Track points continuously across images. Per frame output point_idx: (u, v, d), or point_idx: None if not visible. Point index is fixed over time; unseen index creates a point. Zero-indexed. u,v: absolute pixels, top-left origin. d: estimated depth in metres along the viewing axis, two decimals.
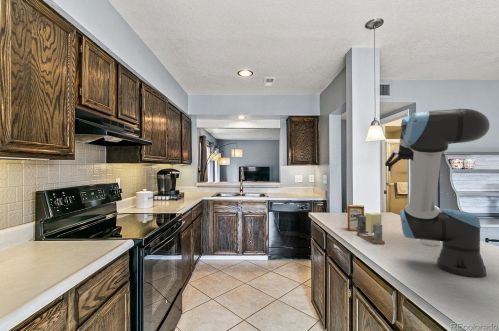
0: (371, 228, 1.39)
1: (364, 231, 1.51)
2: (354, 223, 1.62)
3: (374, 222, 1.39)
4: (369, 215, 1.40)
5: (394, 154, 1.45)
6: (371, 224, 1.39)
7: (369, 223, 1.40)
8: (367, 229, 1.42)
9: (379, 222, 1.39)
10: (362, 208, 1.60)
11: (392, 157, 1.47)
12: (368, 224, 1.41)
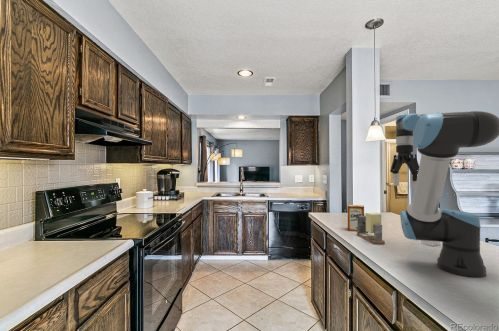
0: (371, 228, 1.39)
1: (364, 231, 1.51)
2: (354, 223, 1.62)
3: (374, 222, 1.39)
4: (369, 215, 1.40)
5: (394, 157, 1.38)
6: (371, 224, 1.39)
7: (369, 223, 1.40)
8: (367, 229, 1.42)
9: (379, 222, 1.39)
10: (362, 208, 1.60)
11: (393, 160, 1.39)
12: (368, 224, 1.41)
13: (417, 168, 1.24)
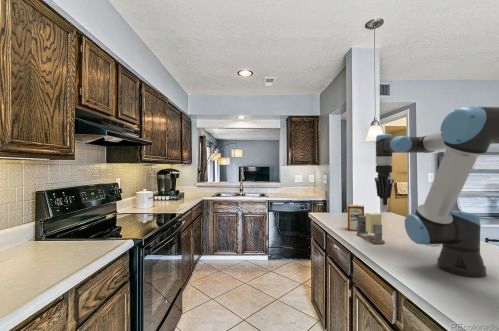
0: (371, 228, 1.39)
1: (364, 231, 1.51)
2: (354, 223, 1.62)
3: (374, 222, 1.39)
4: (369, 215, 1.40)
5: (375, 179, 1.37)
6: (371, 224, 1.39)
7: (369, 223, 1.40)
8: (367, 229, 1.42)
9: (379, 222, 1.39)
10: (362, 208, 1.60)
11: (376, 183, 1.36)
12: (368, 224, 1.41)
13: (388, 194, 1.28)
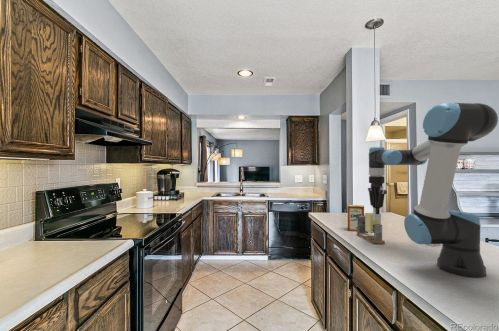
0: (371, 228, 1.39)
1: (364, 231, 1.51)
2: (354, 223, 1.62)
3: (373, 222, 1.39)
4: (369, 215, 1.40)
5: (369, 189, 1.43)
6: (371, 224, 1.39)
7: (369, 223, 1.40)
8: (367, 229, 1.42)
9: (378, 222, 1.39)
10: (362, 208, 1.60)
11: (369, 193, 1.43)
12: (368, 224, 1.41)
13: (380, 203, 1.34)
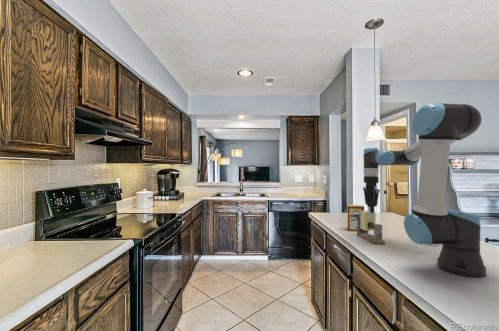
0: (365, 226, 1.44)
1: (364, 231, 1.51)
2: (354, 223, 1.62)
3: (368, 220, 1.44)
4: (363, 213, 1.45)
5: (364, 188, 1.48)
6: (366, 222, 1.44)
7: (363, 221, 1.45)
8: (362, 227, 1.47)
9: (373, 220, 1.44)
10: (362, 208, 1.60)
11: (364, 192, 1.48)
12: (363, 222, 1.46)
13: (375, 202, 1.40)
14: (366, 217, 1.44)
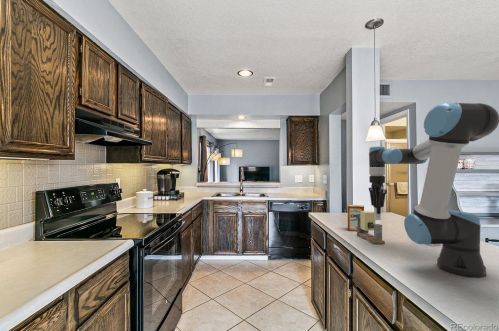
0: (365, 225, 1.44)
1: (364, 231, 1.51)
2: (354, 223, 1.62)
3: (368, 220, 1.44)
4: (363, 213, 1.45)
5: (369, 189, 1.43)
6: (366, 222, 1.44)
7: (363, 221, 1.45)
8: (362, 227, 1.47)
9: (373, 220, 1.45)
10: (362, 208, 1.60)
11: (370, 193, 1.42)
12: (363, 222, 1.46)
13: (381, 203, 1.33)
14: (366, 217, 1.44)
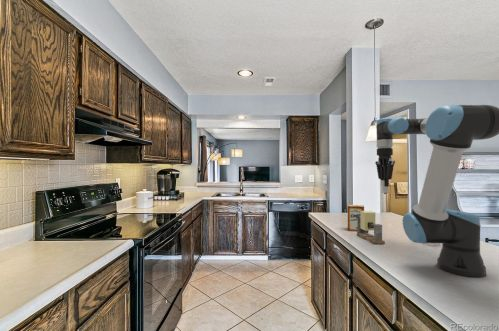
0: (365, 225, 1.44)
1: (364, 231, 1.51)
2: (354, 223, 1.62)
3: (368, 220, 1.44)
4: (363, 213, 1.45)
5: (376, 162, 1.41)
6: (366, 222, 1.44)
7: (363, 221, 1.45)
8: (362, 227, 1.47)
9: (373, 220, 1.45)
10: (362, 208, 1.60)
11: (377, 166, 1.41)
12: (363, 222, 1.46)
13: (389, 175, 1.32)
14: (366, 217, 1.44)
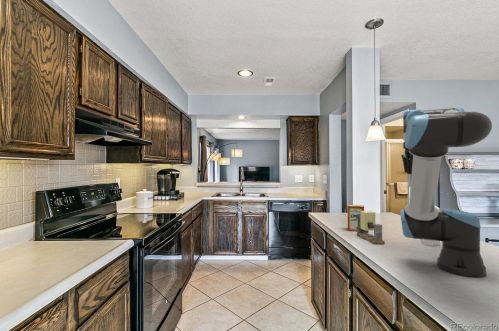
0: (365, 225, 1.44)
1: (364, 231, 1.51)
2: (354, 223, 1.62)
3: (368, 220, 1.44)
4: (363, 213, 1.45)
5: (402, 156, 1.38)
6: (366, 222, 1.44)
7: (363, 221, 1.45)
8: (362, 227, 1.47)
9: (373, 220, 1.45)
10: (362, 208, 1.60)
11: (403, 160, 1.37)
12: (363, 222, 1.46)
13: None
14: (366, 217, 1.44)
